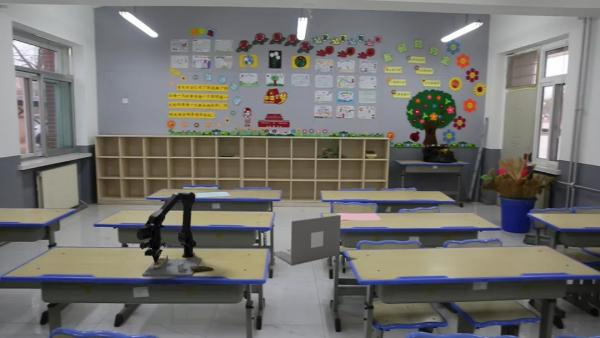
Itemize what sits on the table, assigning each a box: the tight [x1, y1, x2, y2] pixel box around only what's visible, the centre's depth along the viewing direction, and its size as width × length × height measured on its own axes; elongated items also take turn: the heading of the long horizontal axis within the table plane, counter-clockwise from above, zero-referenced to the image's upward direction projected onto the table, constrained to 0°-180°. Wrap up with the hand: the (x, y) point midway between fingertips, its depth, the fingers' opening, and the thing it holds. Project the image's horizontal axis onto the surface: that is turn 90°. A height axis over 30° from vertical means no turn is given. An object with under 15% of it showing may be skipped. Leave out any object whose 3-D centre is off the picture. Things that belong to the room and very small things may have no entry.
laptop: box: [273, 214, 342, 266], centre depth 259 cm, size 35×26×27 cm
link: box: [153, 254, 169, 269], centre depth 238 cm, size 18×4×3 cm, turn 1°
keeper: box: [178, 262, 186, 271], centre depth 230 cm, size 6×3×3 cm, turn 2°
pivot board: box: [142, 258, 202, 277], centre depth 235 cm, size 25×26×1 cm
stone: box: [190, 265, 214, 272], centre depth 232 cm, size 13×5×2 cm, turn 103°
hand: (155, 263), depth 237 cm, fingers closed, pressing on link
